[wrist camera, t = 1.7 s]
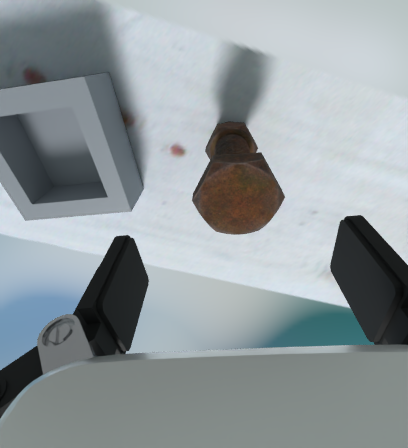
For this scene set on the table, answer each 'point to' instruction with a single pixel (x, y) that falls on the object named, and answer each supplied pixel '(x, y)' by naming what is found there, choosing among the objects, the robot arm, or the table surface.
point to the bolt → (236, 183)
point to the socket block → (66, 149)
